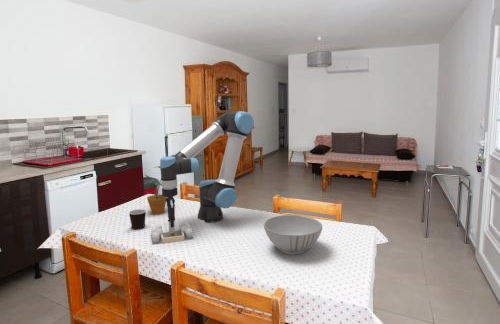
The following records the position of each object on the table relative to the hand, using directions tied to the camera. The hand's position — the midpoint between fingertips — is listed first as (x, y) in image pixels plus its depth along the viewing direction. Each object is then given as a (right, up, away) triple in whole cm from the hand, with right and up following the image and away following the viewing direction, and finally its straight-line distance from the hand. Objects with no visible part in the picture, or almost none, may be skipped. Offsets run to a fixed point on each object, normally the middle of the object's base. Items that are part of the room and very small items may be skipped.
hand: (172, 232), depth 174 cm
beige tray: (0, -3, -2) cm, 3 cm away
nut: (+1, -2, -5) cm, 5 cm away
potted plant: (-18, +4, +40) cm, 44 cm away
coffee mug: (-21, -1, +13) cm, 24 cm away
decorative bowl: (+60, -5, -15) cm, 62 cm away
